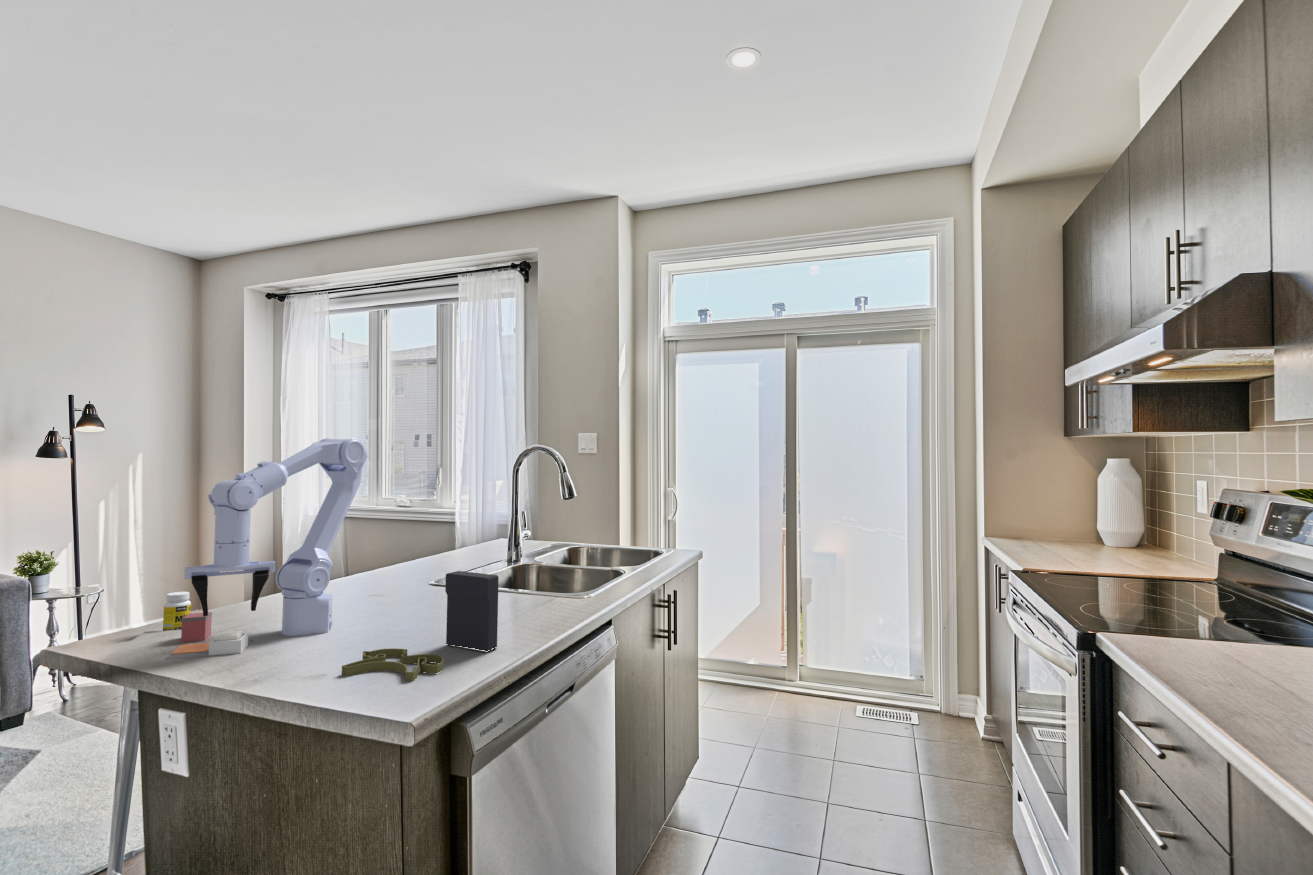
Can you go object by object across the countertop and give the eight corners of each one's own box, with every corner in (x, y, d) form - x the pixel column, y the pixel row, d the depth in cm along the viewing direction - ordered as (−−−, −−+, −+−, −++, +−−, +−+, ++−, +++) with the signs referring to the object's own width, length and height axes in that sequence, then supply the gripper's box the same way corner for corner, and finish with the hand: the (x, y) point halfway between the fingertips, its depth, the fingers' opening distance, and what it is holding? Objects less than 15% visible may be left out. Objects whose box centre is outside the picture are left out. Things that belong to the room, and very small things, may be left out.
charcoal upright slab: (499, 648, 130) (501, 574, 130) (485, 653, 126) (487, 577, 126) (458, 641, 134) (459, 569, 135) (443, 646, 130) (445, 573, 131)
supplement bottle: (175, 635, 136) (176, 596, 136) (156, 634, 137) (158, 594, 137) (195, 629, 140) (196, 591, 141) (177, 628, 141) (179, 590, 142)
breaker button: (242, 645, 124) (242, 630, 125) (237, 651, 121) (237, 635, 121) (220, 647, 123) (221, 631, 123) (214, 652, 120) (215, 636, 120)
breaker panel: (252, 646, 129) (252, 628, 129) (240, 659, 120) (240, 640, 120) (181, 651, 125) (182, 633, 125) (163, 665, 116) (164, 646, 116)
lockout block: (211, 640, 132) (212, 611, 132) (204, 646, 128) (205, 616, 129) (187, 642, 131) (188, 613, 131) (180, 648, 127) (181, 618, 127)
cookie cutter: (330, 677, 113) (331, 665, 113) (373, 656, 124) (373, 646, 124) (422, 685, 109) (422, 673, 109) (457, 663, 121) (457, 653, 121)
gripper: (273, 537, 130) (271, 603, 130) (186, 541, 122) (183, 613, 121) (277, 541, 125) (274, 610, 124) (185, 546, 116) (182, 620, 116)
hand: (229, 612), depth 122 cm, fingers open, 7 cm apart
